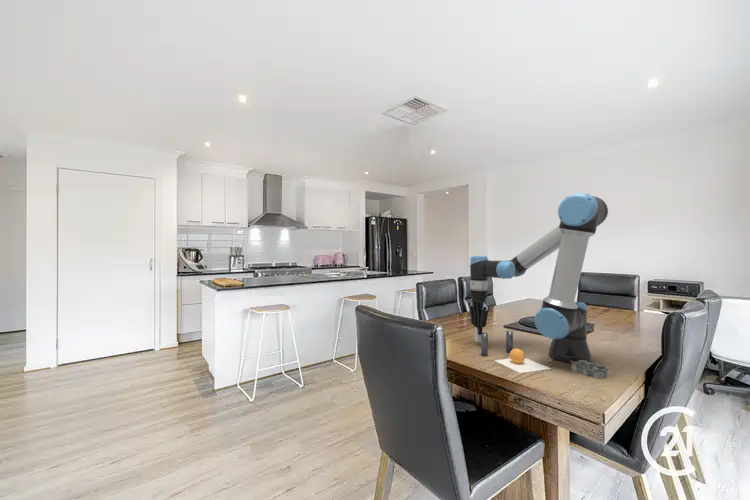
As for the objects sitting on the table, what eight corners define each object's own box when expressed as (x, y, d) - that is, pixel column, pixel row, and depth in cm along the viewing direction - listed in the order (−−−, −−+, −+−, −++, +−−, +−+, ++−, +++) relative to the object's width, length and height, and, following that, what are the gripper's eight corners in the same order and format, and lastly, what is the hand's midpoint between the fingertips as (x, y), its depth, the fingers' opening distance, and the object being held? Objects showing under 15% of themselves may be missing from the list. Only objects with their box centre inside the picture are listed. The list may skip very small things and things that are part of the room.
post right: (514, 353, 143) (514, 331, 143) (509, 353, 142) (509, 332, 142) (509, 351, 145) (510, 330, 145) (504, 351, 145) (505, 330, 145)
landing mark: (550, 369, 124) (550, 368, 124) (520, 373, 120) (520, 372, 120) (522, 357, 137) (522, 356, 137) (494, 360, 133) (494, 360, 133)
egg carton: (568, 371, 123) (568, 360, 123) (578, 367, 127) (578, 356, 127) (600, 380, 114) (600, 368, 114) (610, 376, 118) (610, 364, 118)
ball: (520, 345, 133) (516, 356, 135) (508, 346, 131) (505, 357, 133) (529, 354, 128) (525, 365, 130) (517, 355, 126) (514, 367, 128)
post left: (489, 356, 139) (489, 334, 139) (483, 356, 138) (483, 334, 138) (485, 354, 141) (485, 332, 141) (479, 354, 141) (480, 333, 141)
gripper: (463, 288, 159) (463, 338, 159) (480, 291, 147) (480, 345, 147) (477, 287, 161) (476, 337, 161) (494, 291, 149) (494, 344, 149)
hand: (478, 341), depth 154 cm, fingers closed
